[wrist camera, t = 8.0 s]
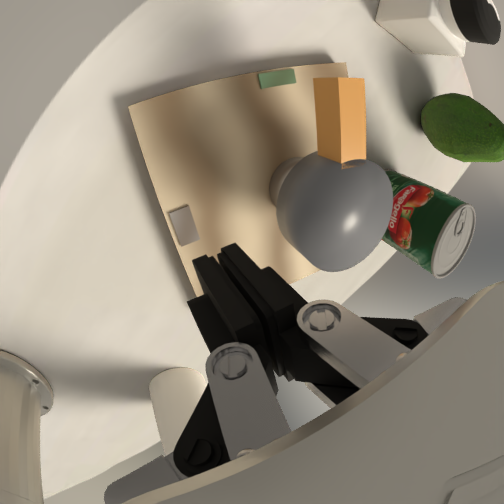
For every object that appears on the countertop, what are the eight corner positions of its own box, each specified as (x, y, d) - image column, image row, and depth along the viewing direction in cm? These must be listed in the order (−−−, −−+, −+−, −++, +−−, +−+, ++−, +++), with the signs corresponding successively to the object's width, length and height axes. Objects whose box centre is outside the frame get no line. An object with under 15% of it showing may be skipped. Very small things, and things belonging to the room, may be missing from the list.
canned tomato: (396, 228, 35) (461, 270, 26) (352, 236, 32) (423, 288, 23) (408, 169, 31) (482, 202, 22) (363, 168, 28) (448, 206, 20)
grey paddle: (361, 235, 24) (386, 252, 22) (279, 263, 22) (301, 287, 19) (364, 79, 17) (396, 81, 15) (263, 80, 15) (290, 77, 13)
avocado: (432, 156, 32) (508, 187, 22) (401, 134, 28) (492, 165, 19) (447, 105, 29) (523, 126, 19) (417, 76, 25) (507, 92, 16)
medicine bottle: (413, 54, 24) (505, 65, 14) (373, 21, 20) (475, 17, 11) (421, 12, 21) (506, 14, 11) (383, -22, 18) (475, -34, 8)
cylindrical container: (160, 363, 30) (242, 581, 10) (214, 371, 34) (307, 555, 14) (141, 398, 32) (203, 584, 12) (190, 403, 36) (263, 567, 16)
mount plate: (203, 310, 29) (219, 349, 24) (128, 106, 18) (126, 106, 13) (351, 245, 33) (383, 268, 28) (335, 63, 22) (378, 61, 17)
